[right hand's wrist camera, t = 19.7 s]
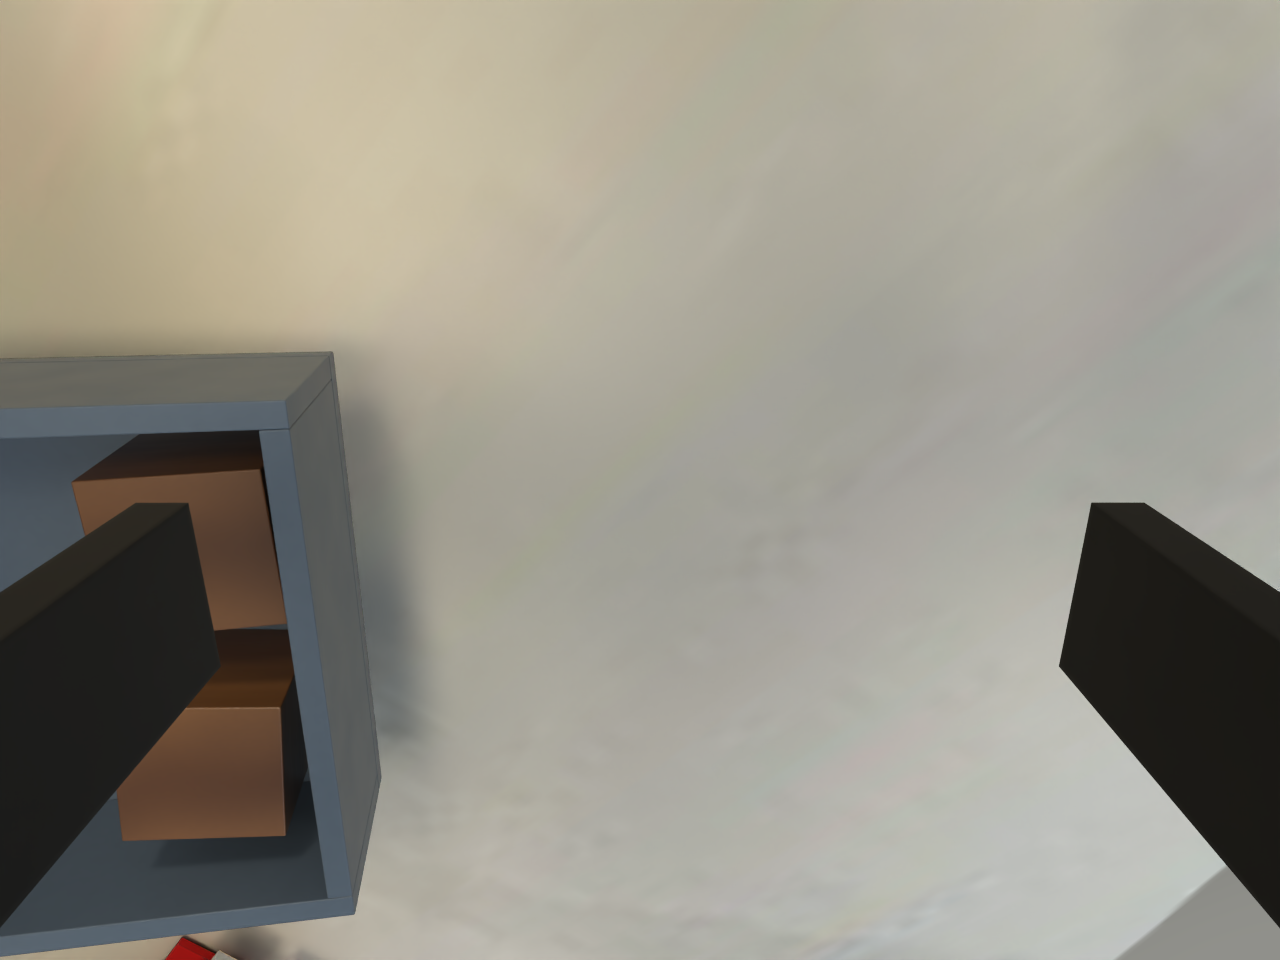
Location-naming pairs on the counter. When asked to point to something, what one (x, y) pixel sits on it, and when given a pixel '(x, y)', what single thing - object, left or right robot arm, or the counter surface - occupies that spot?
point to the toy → (194, 952)
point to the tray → (316, 622)
